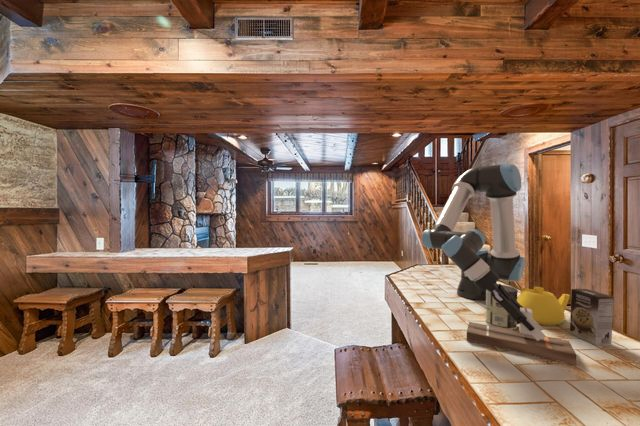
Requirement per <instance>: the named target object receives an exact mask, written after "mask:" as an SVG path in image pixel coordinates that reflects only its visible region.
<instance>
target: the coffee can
mask: <svg viewBox="0 0 640 426" xmlns="http://www.w3.org/2000/svg"><path fill="white" fill-rule="evenodd" d="M501 285H502V286H503V287H504V289H505V290H506V291H507V292H508V293H509V294H510V295H511V296H512V297H513V298H514V299H515V300H516V301H517V297H518V292H519V291H518V289H517V288H516V287H512V286H510V285H503V284H501ZM490 293H491V292H490V291H489V289H486V300H485V323H486V325H489V326H494V327H499V328H505V329H510V330H516V329H517V328H518V327H517V325H518V324H517V322H516V320H515V319H514V318H513V317H512V316H511V315H510V314H509V313H508V312H507V311H506V310H505V309H504V308H503V307H502V306H501V305H500V304H499V303H498V302H497V301H496V300H495V299H494V298H493V296H492V295H491V294H490Z"/></svg>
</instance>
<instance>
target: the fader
mask: <svg viewBox="0 0 640 426" xmlns="http://www.w3.org/2000/svg"><path fill="white" fill-rule="evenodd" d="M520 311H521V312H522V313H523V314H524V316H526V317H528V318H529V319H530V320H531V321H532V310H531V309H527V308H521V307H520ZM518 325H519V326H518V328H519V330H518V331H520V333H523V337H527V338H528V335H531V334H530V333H529V332H528V331H527V330H526V329H525V328H524V327H523V326H522V324H521V323H520V324H518Z"/></svg>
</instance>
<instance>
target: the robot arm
mask: <svg viewBox="0 0 640 426" xmlns="http://www.w3.org/2000/svg"><path fill="white" fill-rule="evenodd" d="M521 189H522V178H521V174H520V170H519V168H518V167H517V166H516V165H515V164H509V163H508V164H504V163H503V164H494V165H482V166H481V165H480V166H475V167H472V168H469V169H468V170H466V171H465V172H463V173H462V174H461V175H460V176H459V177H458V178H456V180H455V181H454V183H453V184H452V187H451V193H450V195H449V196H448V198H447V200H446V203H445V204H444V206H443V208H442V210H441V212H440V213H439V215H438V218H437V219H436V221H435V223H434V225H433V227H432V228H431V229H426V230H424V231H423V232H422V234H421V243H422V246H423V247H425V248H429V249H433V250H442V252H444V254H445V256H446V257H447V258H449V260H451V261H452V262H453V264H455V265H456V266H457V267H458V268H459V269H460V277H461V278H460V281H459V283H458V286H457V288H456V294H457V295H458V296H460V297H462V298H466V299H470V300H478V301H486V289H489V291H490V292H491V293H490V294H491V295H492V296H493V298H494V299H495V300H496V301H497V302H498V303H499V304H500V305H501V306H502V307H503V308H504V309H505V310H506V311H507V312H508V313H509V314H510V315H511V316H512V317H513V318H514V319H515V320H516V322H517V325H519V324H520V323H521V324H522V326H523V327H524V328H525V329H526V330H527V331H528V332H529V333H530V334H531V335H532V336H533V337H534V338H535V339H536V340H537V341H539V340H540V339H542V338H544V337H546V335H545V333H544V332H542V331H543V330H544V328H543V327H542V326H541V324H538V323H537V322H536V321H535V320H534V319H533V318H532V321H531V320H530V319H529V318H528V317H526V316H524V314H523V313H522V312H521V311H520V307H521V308H523V307H522V305H520V304H519V303H518V302H517V301H516V300H515V299H514V298H513V297H512V296H511V295H510V294H509V293H508V292H507V291H506V290H505V289H504V287H503V286H502V285H503V284H501V283H497V282H499V280H502V281H506V282H515V283H517V282H520V280H521V279H523V278H522V277H523V275H524V271H525V267H526V258H525V257H524V256H521V254H520V253H521V251H519V250H518V248H516V235H515V232H516V231H515V215H514V200H513V199H514V197H516V196H517V192H520V191H521ZM475 193H485V198H486V199H488V200H489V205H490V216H491V229H492V231H491V232H492V243H493V244H492V245H493V248H492V249H491V250H490V252H489V250H488V249H483V247H484V245H485V243H486V236H485V234H484V233H483V232H482V231H480V230H479V229H469V230H467V231H466V232H464V231H454V230H455V228H456V225H457V224H458V221H459V219H460V217H462V213H463V211H464V209H465V207H466V205H467V204H468V201H469V199H470V198H472V197H473V196H474V195H475Z"/></svg>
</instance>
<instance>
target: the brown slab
mask: <svg viewBox="0 0 640 426" xmlns="http://www.w3.org/2000/svg"><path fill="white" fill-rule="evenodd" d="M545 336H546V335H545ZM466 341H467V342H471V343H476V344H479V345H483V346H489V347H494V348H497V349H502V350H506V351H510V352H517V353H521V354H525V355H529V356H534V357H538V358H543V359H547V360H551V361H557V362H560V363H565V364H570V365H575V366H577V353H576V351H575V349H574V347H573V346H572V344H571V342H570V340H567V339H563V338H562V339H561V338H556V337H552V336H551V337H550V336H546V337H544V338H542V339H540V340H539V341H537V340H536V339H535V338H534V337H533V336H532V335H528V338H527V337H523V333H520V330H516V329H514V330H510V329H505V328H499V327H494V326H490V325H488V324H483V323H476V322H472V321H468V325H467V330H466Z"/></svg>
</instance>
